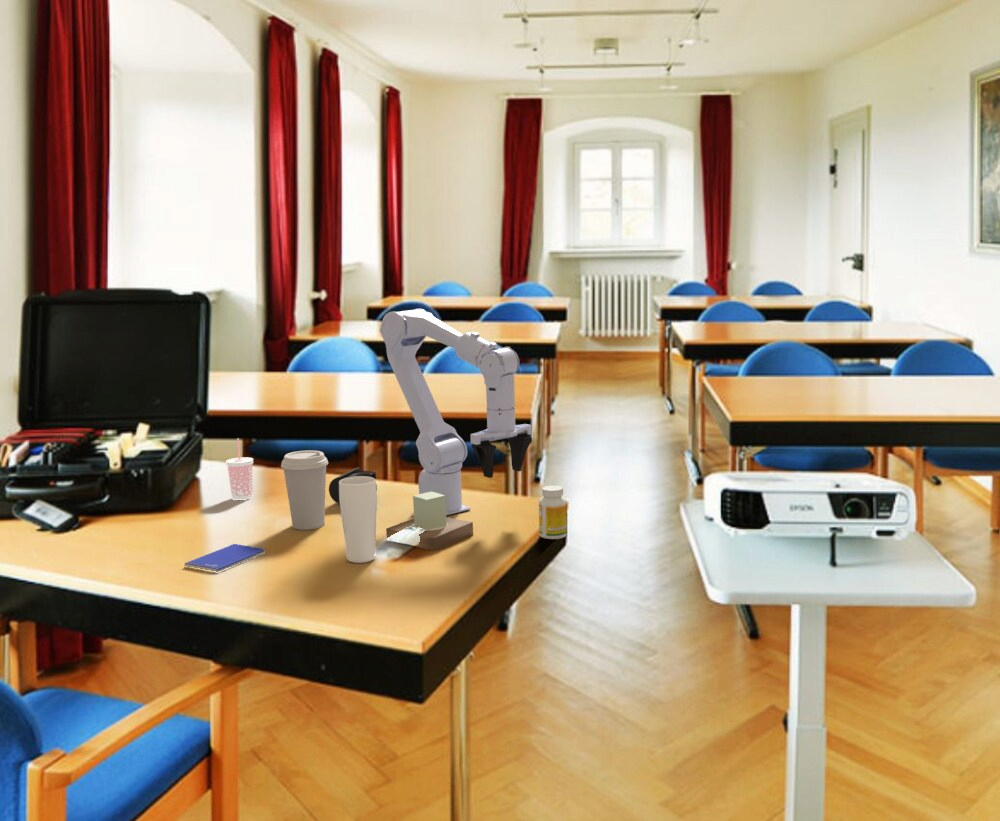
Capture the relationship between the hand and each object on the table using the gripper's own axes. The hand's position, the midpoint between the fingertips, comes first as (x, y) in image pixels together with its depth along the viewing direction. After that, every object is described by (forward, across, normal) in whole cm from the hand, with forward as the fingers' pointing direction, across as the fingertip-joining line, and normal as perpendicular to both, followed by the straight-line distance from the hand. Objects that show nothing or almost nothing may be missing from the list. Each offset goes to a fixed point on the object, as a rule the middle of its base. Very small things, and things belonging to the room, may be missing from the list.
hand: (502, 473), depth 208 cm
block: (+7, -18, +1) cm, 19 cm away
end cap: (+10, -14, +36) cm, 40 cm away
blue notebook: (+11, -54, +17) cm, 57 cm away
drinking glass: (+10, -35, -1) cm, 36 cm away
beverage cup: (+10, -31, +57) cm, 66 cm away
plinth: (+10, -18, +1) cm, 21 cm away
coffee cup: (+10, -31, +26) cm, 42 cm away
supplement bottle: (+10, 0, -15) cm, 18 cm away
